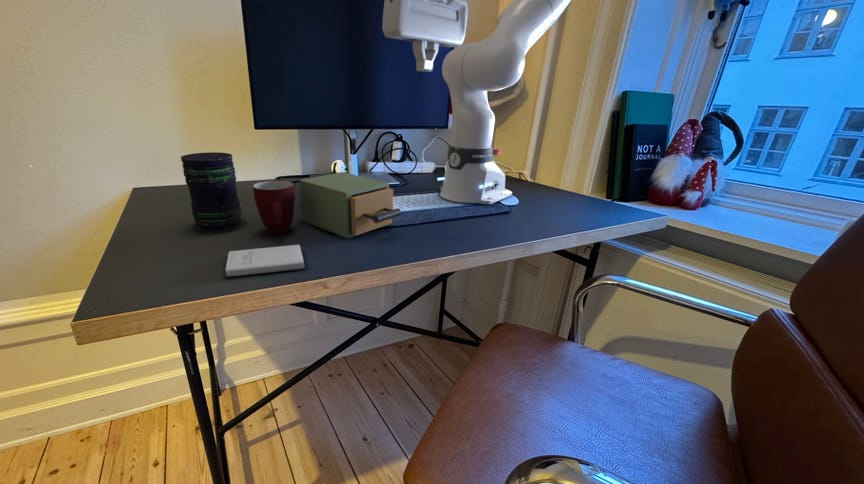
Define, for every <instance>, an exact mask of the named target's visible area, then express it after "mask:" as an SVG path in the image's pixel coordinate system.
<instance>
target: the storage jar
mask: <svg viewBox="0 0 864 484" xmlns="http://www.w3.org/2000/svg"><path fill="white" fill-rule="evenodd" d="M180 161H181V162H182V169H183V170H182V171H183V177H184V179H185V181H184V182H185V183H186V186H187V187H188V191H189V196H190V200H191V202H190V207H191V213H192V217H193V219H194V222H195V229H196V230H197V231H198V232H201V233H208V234H218V233H225V232H226V233H227V232H230V231H234V230H237V229H239V228H241V227H242V226H243V225H244V223H243V219H242V217H243V216H242V207H241V202H240V199H239V197H238V192H237V185H236V183H237V176H236V168H235V167H234V166H235V165H234V161H233V154H232V153H229V152H227V153H226V152H217V151H215V152H214V151H213V152H196V153H188V154H185V155H181V156H180Z"/></svg>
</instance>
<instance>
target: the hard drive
mask: <svg viewBox="0 0 864 484" xmlns="http://www.w3.org/2000/svg"><path fill="white" fill-rule="evenodd" d="M295 270H305V262H304V256H303V253H302V249H301V245H300V244H291V245H281V246H279V245H278V246H271V247H260V248H249V249H240V250H239V249H238V250H230V251H228V254H227V258H226V265H225V276H226V277H227V278H229V277H241V276H250V275H251V276H252V275H259V274H267V273H268V274H269V273H277V272H286V271H295Z"/></svg>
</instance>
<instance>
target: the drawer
mask: <svg viewBox="0 0 864 484" xmlns="http://www.w3.org/2000/svg"><path fill="white" fill-rule="evenodd" d="M393 206H394V188H391V187H389V188H388V189H384V190H383V188H380V189H376V190H372V191H368V192H364V193H360V194H355V195H351V196H349V212H350V230H352V235H355V236H354V237H356V236H359V235H363V234H366V233H368V232H371V231H374V230H377V229H380V228H383V227H385V226H388V225H391V224H393V219H394V218H397V217H399V216H401V215H402V210H401V209H400V208H393Z"/></svg>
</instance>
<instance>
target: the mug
mask: <svg viewBox="0 0 864 484" xmlns="http://www.w3.org/2000/svg"><path fill="white" fill-rule="evenodd" d="M252 191H253V198H254V202H255V205H256V208H257V211H258V215H259V218H260V221H261V222H262V225H264V227H265V229H266V230H267V231H268V232H269V233H270V234H272V235H283V234H286V233H288V232H289V230H290V227H291V226H292V223H293V220H294V213H295V212H294V211H295V201H296V199H295V198H296V193H295V184H294V183H293V182H291V181H287V180H266V181H259V182H257V183H256V182H255V183H254V184H253V185H252Z"/></svg>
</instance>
